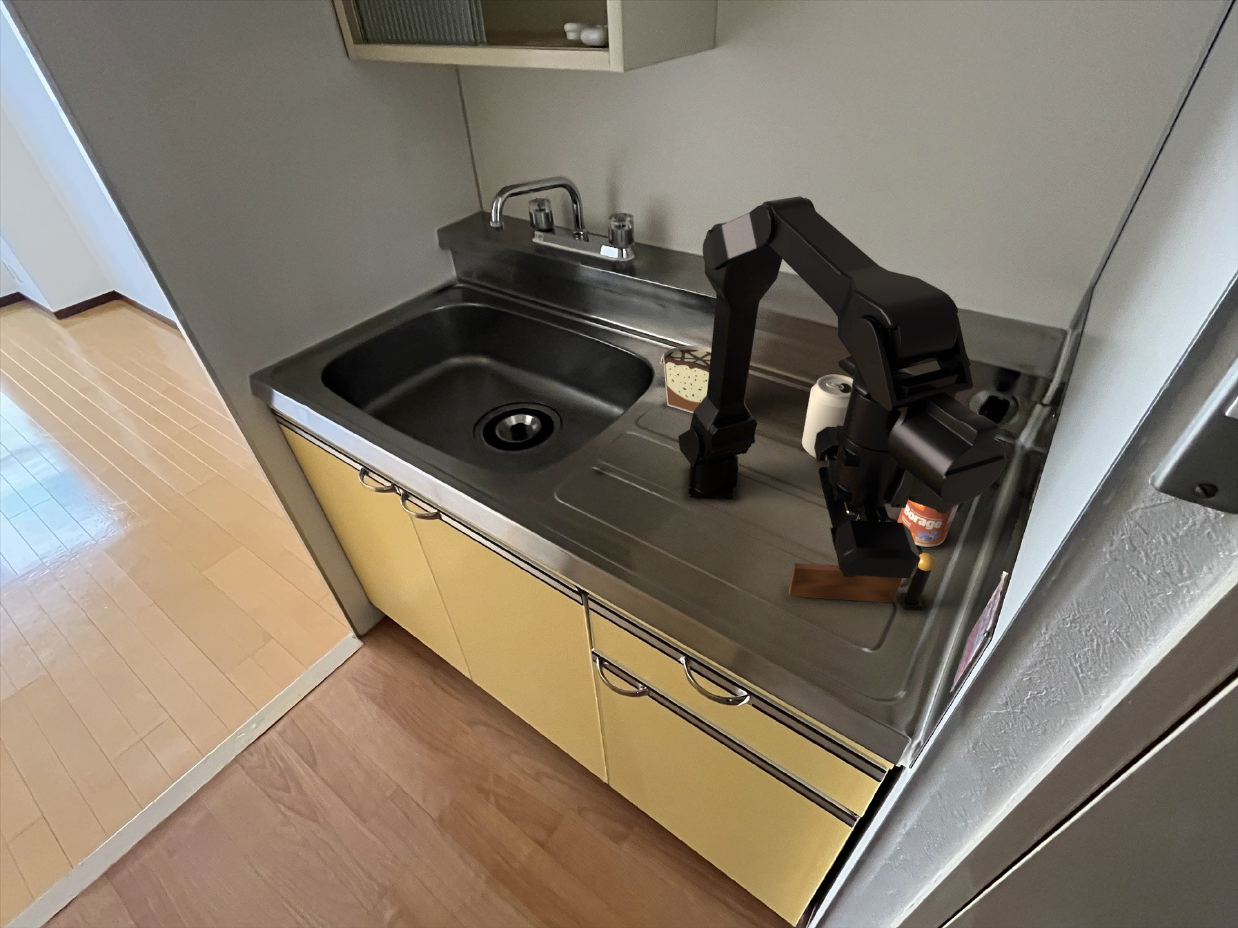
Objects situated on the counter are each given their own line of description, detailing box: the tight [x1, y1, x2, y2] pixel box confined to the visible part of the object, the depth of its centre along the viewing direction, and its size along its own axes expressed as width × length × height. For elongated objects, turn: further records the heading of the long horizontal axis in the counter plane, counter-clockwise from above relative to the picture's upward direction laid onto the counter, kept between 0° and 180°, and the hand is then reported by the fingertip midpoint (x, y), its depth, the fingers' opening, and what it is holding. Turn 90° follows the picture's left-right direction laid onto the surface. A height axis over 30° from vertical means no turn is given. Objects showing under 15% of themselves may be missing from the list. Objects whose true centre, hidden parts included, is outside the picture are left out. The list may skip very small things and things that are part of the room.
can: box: [801, 374, 853, 462], centre depth 98 cm, size 8×8×12 cm
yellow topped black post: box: [899, 552, 937, 611], centre depth 74 cm, size 2×2×8 cm
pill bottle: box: [897, 500, 960, 548], centre depth 83 cm, size 6×6×11 cm
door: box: [788, 562, 903, 603], centre depth 76 cm, size 12×2×5 cm, turn 84°
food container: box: [660, 344, 711, 414], centre depth 110 cm, size 12×6×10 cm, turn 58°
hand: (844, 556), depth 66 cm, fingers open, 5 cm apart
